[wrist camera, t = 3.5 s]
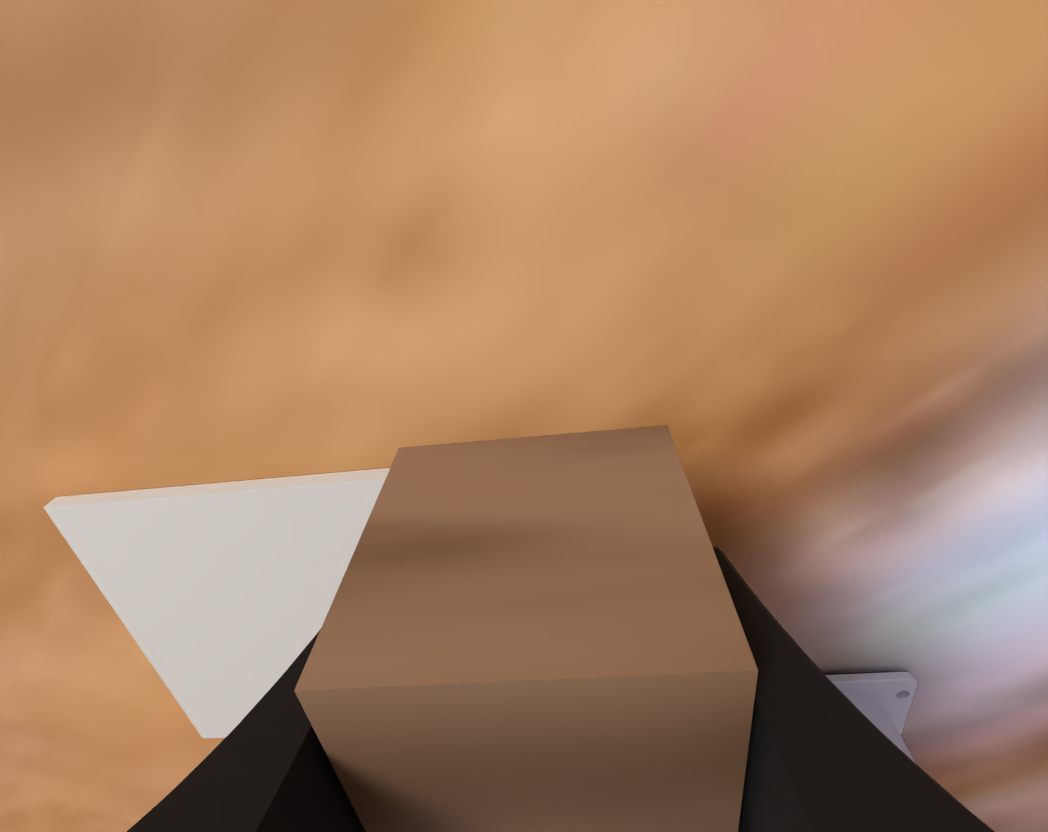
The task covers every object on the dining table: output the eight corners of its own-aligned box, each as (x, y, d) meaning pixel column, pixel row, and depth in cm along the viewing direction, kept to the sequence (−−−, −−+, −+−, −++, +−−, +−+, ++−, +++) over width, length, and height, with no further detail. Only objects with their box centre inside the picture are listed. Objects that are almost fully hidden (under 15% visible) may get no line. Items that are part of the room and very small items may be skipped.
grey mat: (492, 713, 26) (491, 726, 25) (209, 726, 27) (202, 738, 27) (429, 464, 19) (426, 474, 19) (56, 496, 20) (43, 507, 20)
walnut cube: (666, 616, 12) (730, 892, 8) (448, 628, 13) (397, 894, 9) (667, 424, 10) (758, 669, 6) (399, 447, 11) (294, 690, 6)
